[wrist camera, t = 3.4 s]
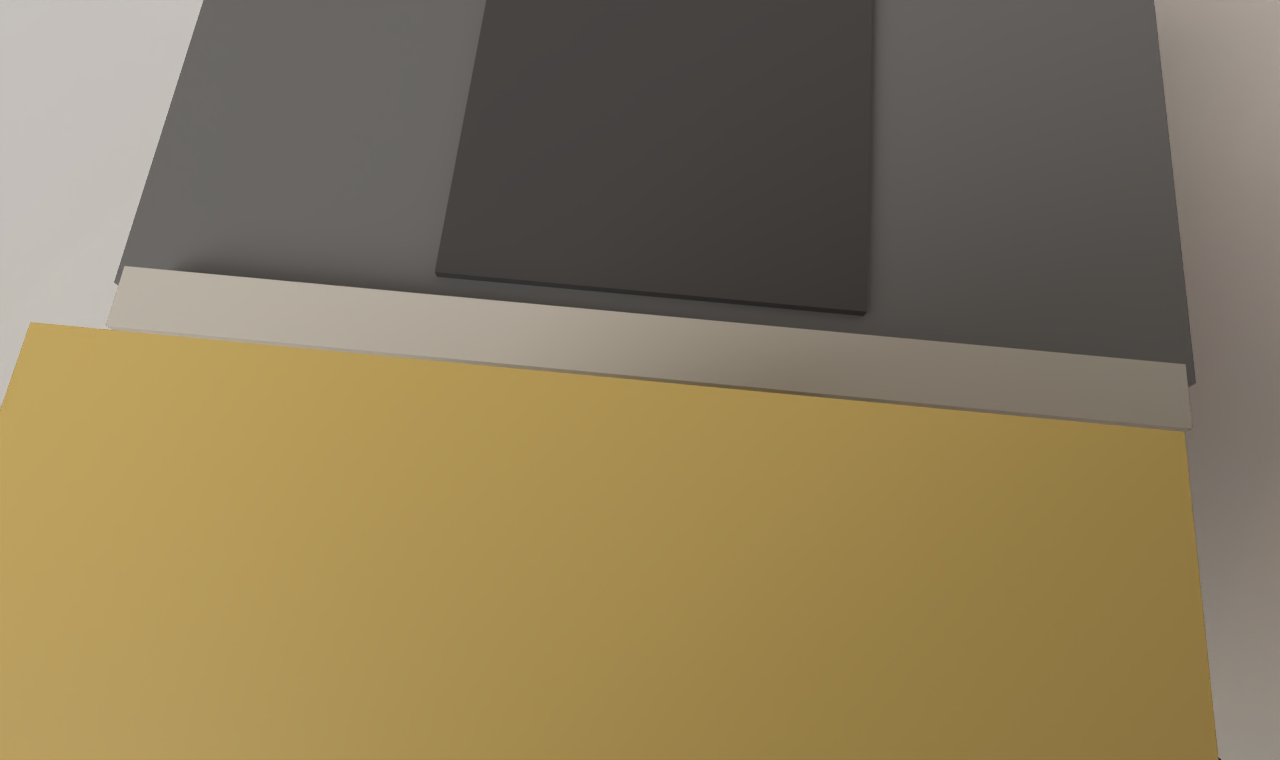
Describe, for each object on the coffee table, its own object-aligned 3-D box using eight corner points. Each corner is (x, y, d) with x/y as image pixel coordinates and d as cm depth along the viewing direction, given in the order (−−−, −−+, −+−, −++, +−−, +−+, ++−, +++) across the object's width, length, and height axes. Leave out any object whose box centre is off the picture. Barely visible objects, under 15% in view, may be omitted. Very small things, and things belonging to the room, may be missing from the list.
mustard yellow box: (752, 857, 14) (1341, 1954, 2) (452, 824, 14) (-444, 1699, 2) (765, 594, 16) (1183, 432, 4) (490, 566, 16) (30, 323, 4)
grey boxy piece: (1012, 887, 14) (1314, 1081, 8) (203, 797, 14) (-132, 915, 8) (987, 125, 19) (1165, -140, 12) (372, 72, 19) (241, -211, 13)
